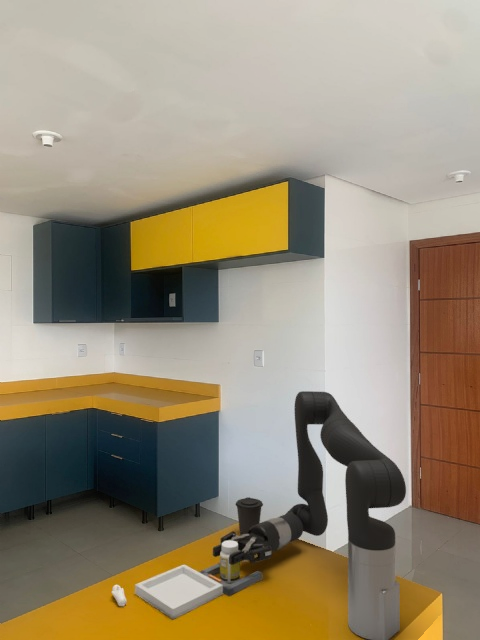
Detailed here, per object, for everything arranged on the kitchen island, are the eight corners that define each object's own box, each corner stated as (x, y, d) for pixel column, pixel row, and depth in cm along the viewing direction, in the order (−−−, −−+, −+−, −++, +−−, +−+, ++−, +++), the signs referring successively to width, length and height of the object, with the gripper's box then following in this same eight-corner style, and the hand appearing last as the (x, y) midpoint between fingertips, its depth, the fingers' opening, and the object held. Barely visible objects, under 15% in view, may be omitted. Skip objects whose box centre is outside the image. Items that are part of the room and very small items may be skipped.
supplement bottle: (240, 574, 123) (240, 540, 123) (238, 584, 118) (239, 548, 118) (221, 573, 123) (221, 539, 123) (218, 583, 119) (218, 547, 119)
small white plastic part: (108, 610, 107) (108, 595, 107) (112, 595, 113) (112, 581, 113) (125, 609, 108) (125, 594, 108) (128, 594, 114) (129, 580, 114)
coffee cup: (250, 526, 152) (250, 493, 153) (268, 535, 146) (269, 500, 146) (229, 533, 147) (229, 499, 147) (247, 542, 141) (247, 507, 141)
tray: (222, 594, 114) (222, 585, 114) (172, 619, 104) (172, 609, 104) (184, 572, 124) (184, 564, 124) (135, 593, 114) (135, 584, 114)
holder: (262, 579, 121) (262, 571, 121) (229, 596, 113) (229, 587, 113) (230, 563, 128) (230, 556, 128) (197, 578, 121) (197, 570, 121)
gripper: (250, 513, 136) (202, 531, 124) (291, 529, 126) (243, 549, 114) (250, 541, 136) (201, 562, 124) (291, 559, 126) (243, 583, 114)
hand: (222, 556), depth 119 cm, fingers open, 5 cm apart
